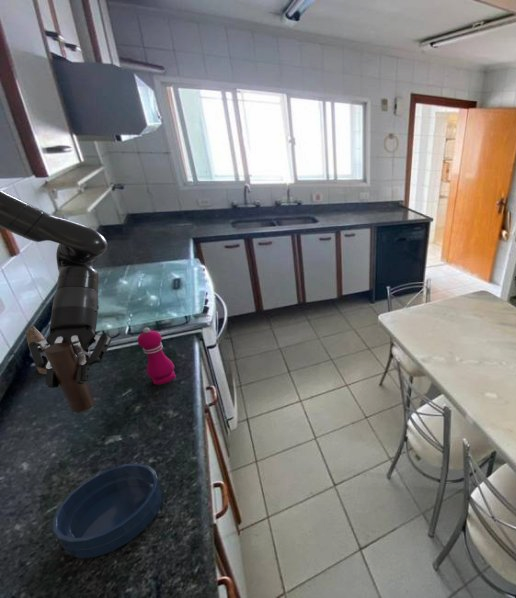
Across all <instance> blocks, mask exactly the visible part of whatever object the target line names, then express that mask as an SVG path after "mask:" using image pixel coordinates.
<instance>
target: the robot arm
mask: <svg viewBox="0 0 516 598" xmlns="http://www.w3.org/2000/svg"><path fill="white" fill-rule="evenodd" d="M0 228H1V229H3V230H6V231H8V232H10V233H13V234H15V235H17V236H20V237H22V238H23V239H26V240H28V241H32V242H36V243H42V242H46V241H48V242H52V243H56V244H58V246H57V248H56V253H55V256H56V257H55V258H56V265H57V270H58V276H57V284H56V290H55V294H54V296H53V300H52V308H51V313H50V314H51V315H50V323H49V334H48V335H47V336H46V339H45V340H43V341H40V342H37V343H36V342H31V343H30V344H29V346H28V348H29V347H30V349H29V352H30V351H31V352H30V354H31V357H32V360H33V363H34V366H35V368H36V367H39V368H43V369H46V370H47V373H46V374H45V380H44V381H45V382H44V383H45V385H46V386H47V387H48V388H52V389H55V388H59V387H60V384H59V382H58V380H57V378H56V375H55V373H54V371H53V369H52V367H51V364H50V362H49V360H48V358H47V356H46V353H45V349H46V348H47V347H48V345H49V346H51V345H54V344H57V343H63V342H68V343H71V345H72V348H73V350H74V353H75V355H76V357H77V360H78V362H79V365H80V366H78V367H77V377H76V383H77V384H85V383H86V382H87V381H89V379H90V373H91V372H90V371H91V367H92V366H93V365H95V364H100V363H102V361H103V359H104V358H105V355H106V353H107V351H108V349H109V347H110V345H111V342H112V338H111V337H109V336H108V335H105V334H102V335H99V334H98V333H97V331H96V330H97V324H98V323H97V322H98V313H99V308H100V306H99V285H100V274H99V272H98V271H97V270H96V269H95V268H94V261H95V260H97V258H99V257H101V256H102V255H104V254H105V253H106V251H107V250H108V242H107V241H108V240H107V239H106V238H105V237H104V235H102V234H101V233H100V232H98V231H97V230H96V229H93V228H92V227H89V226H86V225H83V224H82V223H77V222H75V221H72V220H68V219H65V218H62V217H58V216H55V215H51V214H50V213H48V212H46V211H43V209H40V208H39V207H36V206H34V205H32V204H30V203H28V202H25V201H24V200H22V199H19V198H18V197H16V196H13V195H12V194H9V193H7V192H5V191H4V190H1V189H0ZM94 342H95V346H94V348H93V351H92V352H91V350H90V347H91V346H92V345H93V343H94Z"/></svg>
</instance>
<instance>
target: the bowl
mask: <svg viewBox="0 0 516 598" xmlns="http://www.w3.org/2000/svg"><path fill="white" fill-rule="evenodd" d="M163 497H164V493H163V490H162V487H161V485H160V482H159V477H158V476H157V472H156V470H155V469H153V467H151V466H149V465H148V464H143V463H137V462H136V463H125V464H121V465H118V466H117V465H116V466H114V467H111V468H109V469H106V470H104V471H101V472H99V473H97V474H95V475H94V476H92V477H90V478H89V479H86V480H85V481H84V482H82V483H81V484H80V485H78V486H77V487H76V488H75V489H74V490H73V491H71V492H70V493H69V494H68V496H67V497H65V499H64V500H63V501H62V503H61V504H60V505H59V506H58V508H57V510H56V511H55V514H54V516H53V518H52V532H53V533H54V535H55V537H56V538H57V540H58V542H59V543H60V545H61V547H62V548H63V550H65V552H66V553H67V555H68V556H71V557H74V558H78V559H91V558H97V557H100V556H104V555H106V554H109V553H112V552H114V551H116V550H117V549H119V548H121V547H123V546H125V545H126V544H128V543H129V542H131V541H132V540H133V539H135V538H136V537H138V536H139V535H140V534H141V533H142V532H143V531H144V530H145V529H146V528H147V527H148V526H149V525H150V523H151V522H152V521H153V520H154V519H155V518H156V516H157V514H158V512H159V510H160V509H161V507H162V501H163Z"/></svg>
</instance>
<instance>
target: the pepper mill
mask: <svg viewBox="0 0 516 598" xmlns="http://www.w3.org/2000/svg"><path fill="white" fill-rule="evenodd" d="M162 340H163V338H162V334H161V333H160V332H159V331H156V330H151V329H150V328H149V327H144V328H142V333H140V334H139V336H138V337H137V344H138V346H139V347H141V348H142V351H143V354H146V356H147V366H146V373H147V376H148V377H149V378H151V381H152V383H153V384H154V385H159V386H160V385H164V384H168V383H170V382H171V381H173V380H175V379H176V377H177V375H176V373H175V364H174V362H173V361H172V360H171V359H170V358H169V357H168V356H166V354H165V352H164V351H163V347H164V346H163V343H162Z"/></svg>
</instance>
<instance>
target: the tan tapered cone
mask: <svg viewBox="0 0 516 598" xmlns="http://www.w3.org/2000/svg"><path fill="white" fill-rule="evenodd" d="M25 337H26V341H27V345H28V349H29V352H30V353H31V351H30V347H29V344H30V343H31V342H36V343H37V342H40V341H43V340H46V339H45V337H44V335H43V334H42V333H41V332H40V331H39V330H38V329H37V328H36V327H35V326H34V325H31V326H27V329H26V330H25ZM49 346H50V345H48V347H49ZM35 368H36V370H37V372H38V373H39V374H42V375H46V373H47V370H46V369H43V368H39V367H36V366H35Z"/></svg>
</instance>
